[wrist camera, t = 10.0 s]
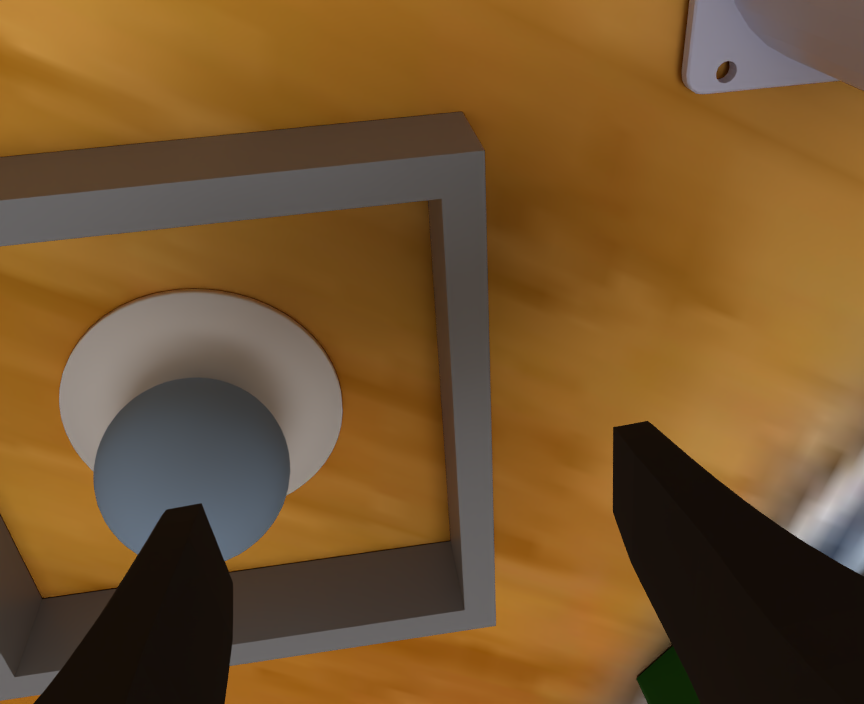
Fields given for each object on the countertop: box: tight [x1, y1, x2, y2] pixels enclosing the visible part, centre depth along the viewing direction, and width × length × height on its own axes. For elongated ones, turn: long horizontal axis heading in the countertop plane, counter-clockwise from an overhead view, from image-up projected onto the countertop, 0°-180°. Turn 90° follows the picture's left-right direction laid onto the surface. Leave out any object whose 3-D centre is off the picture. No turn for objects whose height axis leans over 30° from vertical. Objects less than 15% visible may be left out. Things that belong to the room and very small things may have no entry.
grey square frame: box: [0, 112, 496, 701], centre depth 22 cm, size 16×16×3 cm
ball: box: [94, 377, 290, 561], centre depth 21 cm, size 5×5×5 cm
